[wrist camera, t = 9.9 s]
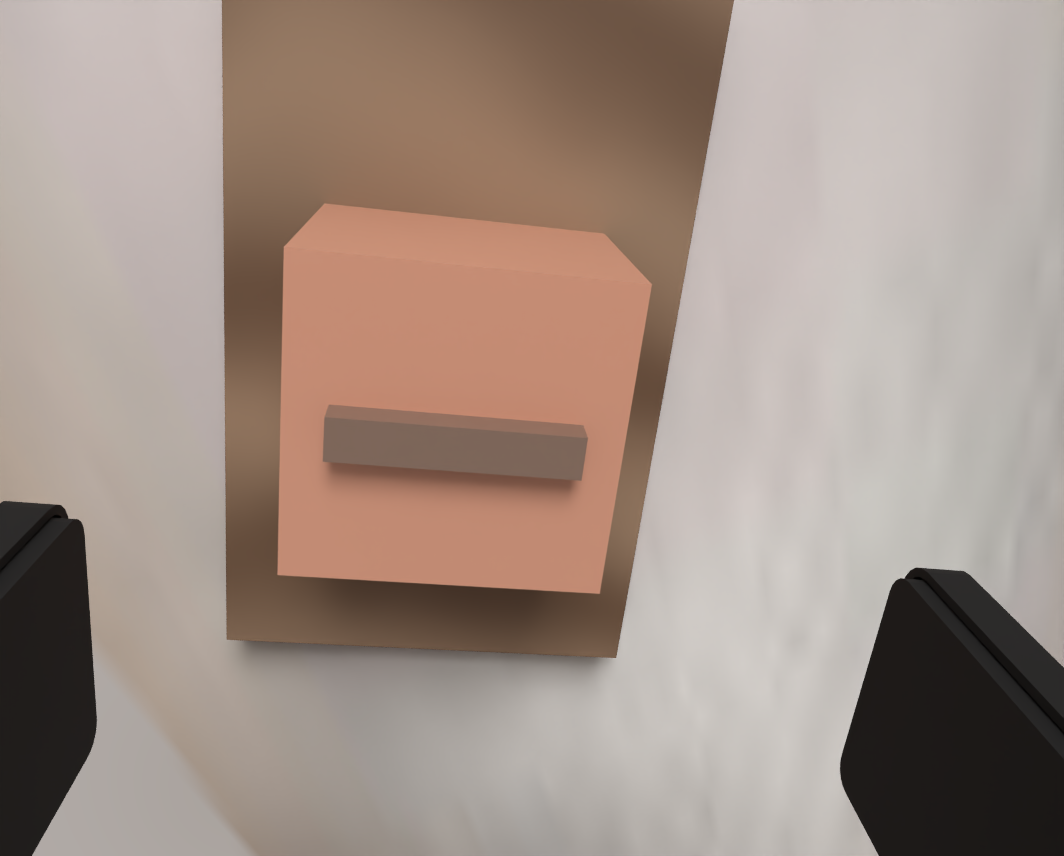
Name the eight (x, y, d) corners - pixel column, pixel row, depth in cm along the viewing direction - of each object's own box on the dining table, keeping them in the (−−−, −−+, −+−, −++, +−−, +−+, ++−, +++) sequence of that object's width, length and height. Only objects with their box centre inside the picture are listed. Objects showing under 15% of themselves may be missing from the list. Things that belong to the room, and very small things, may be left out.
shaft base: (606, 625, 25) (642, 750, 21) (239, 606, 24) (189, 735, 19) (714, -2, 19) (797, -24, 15) (239, -69, 18) (166, -115, 14)
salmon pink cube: (567, 482, 22) (604, 611, 17) (315, 463, 21) (271, 592, 16) (604, 233, 20) (659, 292, 14) (324, 203, 19) (277, 254, 14)
